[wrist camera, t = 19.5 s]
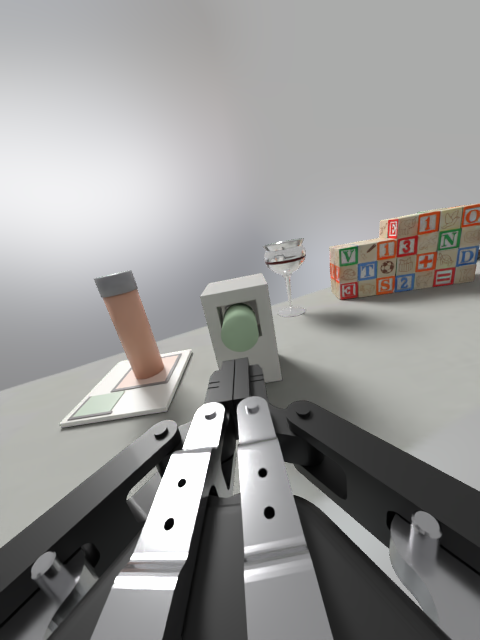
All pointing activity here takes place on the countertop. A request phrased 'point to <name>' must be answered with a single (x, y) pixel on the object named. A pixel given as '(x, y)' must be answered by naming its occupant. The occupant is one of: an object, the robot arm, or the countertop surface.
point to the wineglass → (286, 266)
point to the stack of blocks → (410, 254)
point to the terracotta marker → (131, 323)
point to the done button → (239, 328)
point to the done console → (257, 297)
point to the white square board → (130, 392)
